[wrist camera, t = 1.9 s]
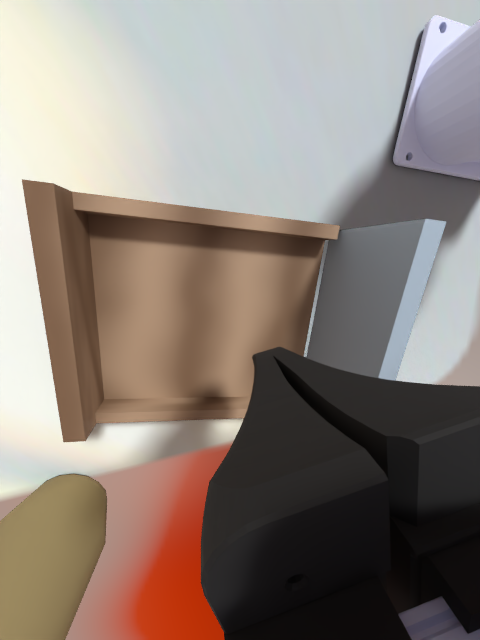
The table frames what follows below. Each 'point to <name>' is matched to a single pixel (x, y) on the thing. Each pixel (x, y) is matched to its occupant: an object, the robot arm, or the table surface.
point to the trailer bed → (164, 303)
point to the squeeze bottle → (50, 556)
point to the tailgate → (372, 295)
